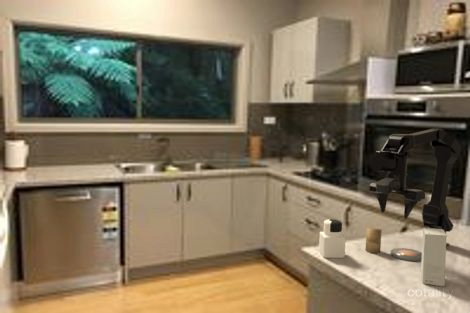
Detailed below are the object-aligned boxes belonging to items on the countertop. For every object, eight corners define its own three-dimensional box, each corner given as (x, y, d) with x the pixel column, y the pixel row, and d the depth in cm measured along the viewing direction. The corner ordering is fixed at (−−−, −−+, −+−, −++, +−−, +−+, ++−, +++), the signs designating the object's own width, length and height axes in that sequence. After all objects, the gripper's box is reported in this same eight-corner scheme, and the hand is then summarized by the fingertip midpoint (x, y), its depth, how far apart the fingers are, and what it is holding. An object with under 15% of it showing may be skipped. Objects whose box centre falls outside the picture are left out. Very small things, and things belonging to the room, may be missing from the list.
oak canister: (372, 247, 148) (373, 226, 147) (383, 252, 144) (384, 229, 143) (362, 249, 145) (363, 228, 144) (373, 254, 141) (374, 231, 140)
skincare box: (444, 287, 115) (448, 236, 113) (421, 283, 117) (424, 233, 115) (441, 276, 122) (445, 228, 121) (419, 273, 125) (422, 226, 123)
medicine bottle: (338, 251, 143) (340, 217, 142) (344, 258, 136) (346, 223, 135) (318, 251, 143) (320, 217, 142) (323, 258, 136) (325, 223, 135)
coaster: (404, 248, 148) (404, 246, 148) (432, 258, 138) (432, 255, 138) (383, 253, 142) (383, 250, 142) (411, 263, 133) (411, 260, 133)
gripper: (360, 168, 143) (357, 211, 145) (406, 175, 128) (402, 224, 129) (380, 167, 149) (377, 208, 151) (428, 174, 133) (424, 220, 135)
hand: (394, 215), depth 141 cm, fingers open, 9 cm apart
